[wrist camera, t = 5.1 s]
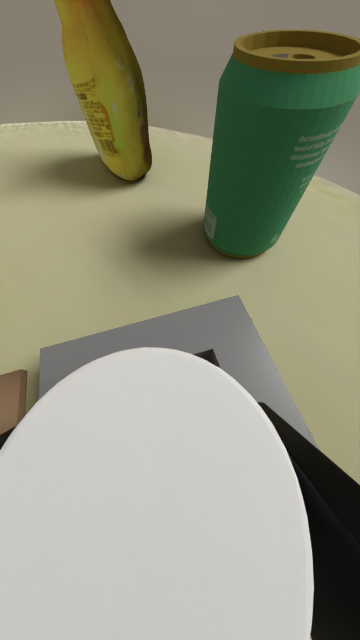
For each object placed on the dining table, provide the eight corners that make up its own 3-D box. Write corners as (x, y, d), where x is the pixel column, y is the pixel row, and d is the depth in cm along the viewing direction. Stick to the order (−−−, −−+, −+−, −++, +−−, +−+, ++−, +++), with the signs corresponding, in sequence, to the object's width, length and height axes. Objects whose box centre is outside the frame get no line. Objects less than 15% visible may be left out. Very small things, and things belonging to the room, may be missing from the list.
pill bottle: (125, 494, 11) (-426, 1297, 1) (129, 386, 14) (-15, 323, 4) (228, 484, 11) (608, 1117, 1) (212, 379, 14) (285, 299, 4)
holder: (329, 525, 10) (380, 566, 8) (73, 639, 9) (24, 741, 6) (229, 314, 16) (238, 295, 14) (66, 359, 15) (40, 348, 12)
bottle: (88, 158, 29) (-73, -267, 11) (125, 146, 30) (38, -245, 12) (124, 195, 24) (-49, -422, 6) (164, 179, 26) (120, -357, 8)
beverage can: (236, 203, 23) (283, 22, 12) (290, 237, 20) (412, 41, 9) (188, 232, 21) (193, 43, 10) (240, 274, 18) (324, 77, 7)
